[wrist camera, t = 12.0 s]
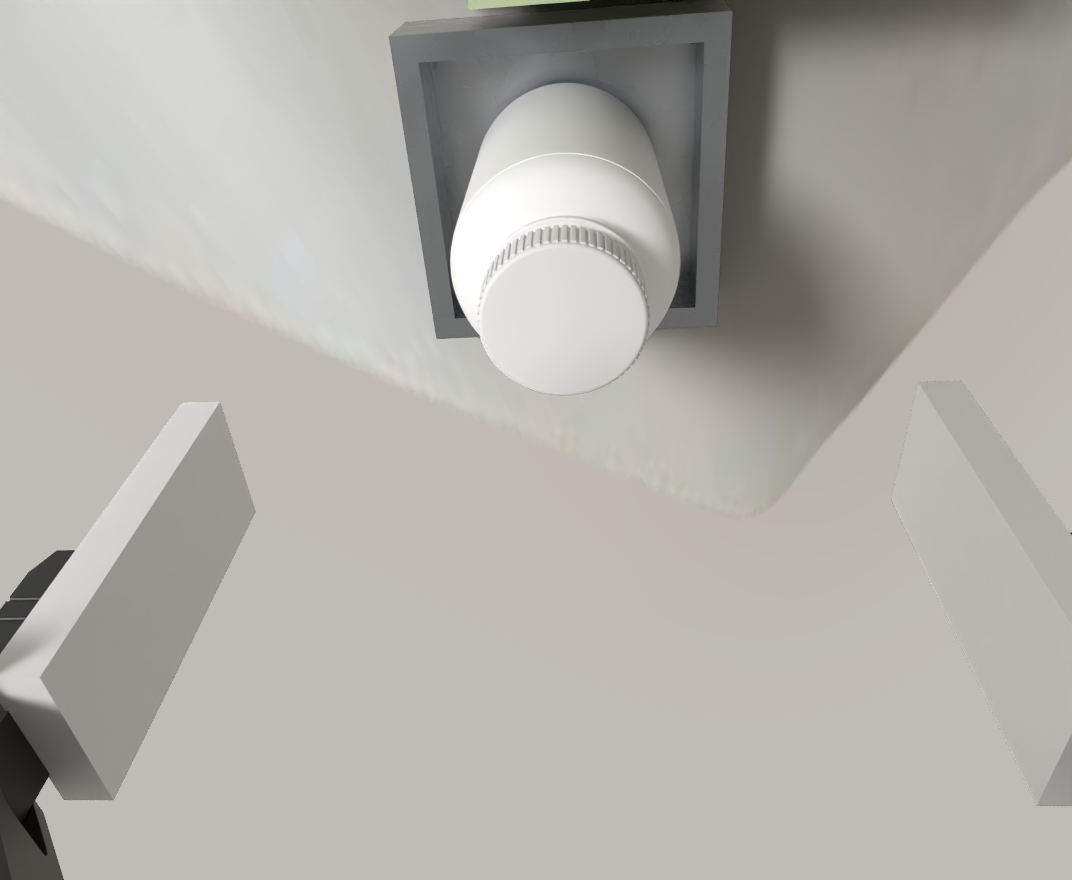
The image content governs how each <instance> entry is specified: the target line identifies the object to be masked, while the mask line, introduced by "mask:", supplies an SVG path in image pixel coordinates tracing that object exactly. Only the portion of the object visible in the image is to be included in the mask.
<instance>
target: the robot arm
mask: <svg viewBox="0 0 1072 880" xmlns="http://www.w3.org/2000/svg"><path fill="white" fill-rule="evenodd" d="M891 501H892V503H893V505H894V507H895V509H896V511H897V513H898V516H899V517H900V520H901V522H902V524H903V526H904V528H905V530H906V532H907V534H908V536H909V539H910V541H911V543H912V545H913V547H914V549H915V551H916V553H917V555H918V557H919V560H920V562H921V564H922V566H923V568H924V570H925V572H926V574H927V577H928V579H929V580H930V583H931V585H932V587H933V589H934V591H935V593H936V595H937V597H938V600H939V602H940V604H941V606H942V608H943V610H944V612H945V614H946V616H947V618H948V621H949V623H950V625H951V627H952V629H953V631H954V633H955V635H956V638H957V640H958V642H959V644H960V646H961V648H962V650H963V652H964V654H965V656H966V659H967V661H968V663H969V665H970V667H971V669H972V671H973V673H974V675H975V677H976V680H977V682H978V684H979V686H980V688H981V690H982V692H983V694H984V696H985V699H986V700H987V703H988V705H989V707H990V709H991V711H992V713H993V715H994V717H995V720H996V722H997V724H998V726H999V728H1000V730H1001V732H1002V734H1003V736H1004V738H1005V740H1006V743H1007V745H1008V747H1009V749H1010V751H1011V753H1012V755H1013V758H1014V759H1015V762H1016V764H1017V766H1018V768H1019V770H1020V772H1021V774H1022V776H1023V779H1024V781H1025V783H1026V785H1027V787H1028V789H1029V791H1030V793H1031V795H1032V797H1033V800H1034V801H1035V803H1036V806H1072V533H1070V532H1069V531H1068V529H1067V528H1066V526H1065V525H1064V524H1063V522H1062V521H1061V520H1060V518H1059V517H1058V515H1057V514H1056V513H1055V511H1054V510H1053V508H1052V507H1051V506H1050V504H1049V503H1048V501H1047V500H1046V498H1045V497H1044V496H1043V494H1042V493H1041V492H1040V490H1039V489H1038V487H1037V486H1036V484H1035V483H1034V482H1033V480H1032V479H1031V477H1030V476H1029V475H1028V473H1027V472H1026V471H1025V469H1024V468H1023V466H1022V465H1021V463H1020V462H1019V461H1018V459H1017V458H1016V457H1015V455H1014V454H1013V452H1012V451H1011V449H1010V448H1009V447H1008V445H1007V444H1006V442H1005V441H1004V440H1003V438H1002V437H1001V436H1000V434H999V433H998V431H997V430H996V429H995V427H994V426H993V424H992V423H991V421H990V420H989V419H988V417H987V416H986V415H985V413H984V412H983V410H982V409H981V407H980V406H979V405H978V403H977V402H976V401H975V399H974V398H973V396H972V395H971V394H970V392H969V391H968V389H967V388H966V387H965V385H964V384H963V382H962V381H933V382H918V384H917V388H916V393H915V397H914V401H913V406H912V410H911V415H910V419H909V423H908V427H907V432H906V436H905V441H904V445H903V449H902V453H901V458H900V462H899V467H898V471H897V476H896V480H895V484H894V488H893V492H892V497H891ZM254 514H255V508H254V505H253V502H252V499H251V495H250V492H249V490H248V486H247V483H246V480H245V477H244V474H243V471H242V468H241V465H240V462H239V459H238V455H237V452H236V449H235V446H234V443H233V440H232V437H231V434H230V431H229V428H228V425H227V422H226V419H225V416H224V412H223V409H222V406H221V403H220V402H197V403H181V405H180V406H179V407H178V409H177V410H176V412H175V413H174V414H173V416H172V417H171V419H170V420H169V421H168V423H167V424H166V426H165V427H164V428H163V430H162V431H161V432H160V434H159V435H158V437H157V438H156V439H155V441H154V442H153V444H152V445H151V446H150V448H149V449H148V451H147V452H146V453H145V455H144V456H143V458H142V459H141V460H140V461H139V463H138V464H137V466H136V467H135V468H134V470H133V471H132V473H131V474H130V475H129V477H128V478H127V479H126V481H125V482H124V484H123V485H122V487H121V488H120V489H119V491H118V492H117V493H116V495H115V496H114V497H113V499H112V500H111V502H110V503H109V504H108V506H107V507H106V509H105V510H104V511H103V513H102V514H101V515H100V517H99V518H98V520H97V521H96V522H95V524H94V525H93V527H92V528H91V529H90V531H89V532H88V533H87V535H86V536H85V538H84V539H83V540H82V542H81V543H80V544H79V546H78V547H77V549H76V550H67V551H56V552H54V553H53V554H52V555H51V556H49V557H48V558H47V559H45V560H44V561H43V562H42V563H40V564H39V565H38V566H36V567H35V568H34V569H32V570H31V571H30V572H29V573H28V574H27V575H26V577H25V578H24V579H23V580H22V582H21V583H20V584H19V586H18V587H17V588H16V590H15V591H14V592H13V593H12V595H11V596H10V601H9V602H6V603H5V604H4V605H3V607H2V608H1V609H0V880H64V879H63V876H62V872H61V869H60V866H59V863H58V859H57V856H56V853H55V849H54V846H53V843H52V840H51V836H50V833H49V830H48V826H47V823H46V820H45V817H44V814H43V812H42V810H41V809H40V807H39V806H38V805H37V803H36V802H35V799H36V798H37V796H38V794H39V792H40V790H41V789H42V787H43V785H44V784H45V782H46V780H47V779H48V777H49V778H50V779H51V781H52V782H53V784H54V785H55V787H56V788H57V790H58V792H59V793H60V795H61V796H62V798H63V799H64V800H114V798H115V796H116V794H117V792H118V790H119V788H120V786H121V784H122V782H123V780H124V778H125V776H126V774H127V772H128V770H129V768H130V766H131V764H132V762H133V760H134V758H135V756H136V753H137V752H138V749H139V748H140V746H141V744H142V741H143V740H144V737H145V735H146V733H147V731H148V729H149V727H150V725H151V723H152V721H153V719H154V717H155V715H156V713H157V711H158V709H159V707H160V705H161V703H162V701H163V699H164V696H165V695H166V693H167V691H168V689H169V687H170V685H171V683H172V681H173V679H174V677H175V674H176V672H177V670H178V668H179V666H180V664H181V662H182V660H183V658H184V656H185V654H186V652H187V650H188V648H189V646H190V644H191V642H192V640H193V638H194V636H195V634H196V632H197V630H198V628H199V626H200V624H201V622H202V620H203V617H204V616H205V614H206V612H207V610H208V607H209V605H210V603H211V601H212V599H213V597H214V595H215V593H216V591H217V589H218V587H219V585H220V583H221V581H222V579H223V577H224V575H225V573H226V571H227V569H228V567H229V565H230V563H231V561H232V559H233V557H234V555H235V553H236V551H237V549H238V547H239V545H240V543H241V540H242V538H243V536H244V534H245V532H246V530H247V528H248V526H249V524H250V522H251V520H252V518H253V516H254Z"/></svg>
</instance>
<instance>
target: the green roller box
mask: <svg viewBox="0 0 1072 880" xmlns="http://www.w3.org/2000/svg"><path fill="white" fill-rule="evenodd" d="M575 1H588V0H468V9H469V10H472V9H485V8H498V7H511V6H524V5H537V4H549V3H562V2H575Z"/></svg>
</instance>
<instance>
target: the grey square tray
mask: <svg viewBox="0 0 1072 880" xmlns="http://www.w3.org/2000/svg"><path fill="white" fill-rule="evenodd" d="M732 16H733V10H732V9H731V8H730V7H729V6H728V5H727V4H726V3H725V2H724V1H723V0H692V1H679V2H666V3H653V4H639V5H626V6H613V7H600V8H587V9H574V10H561V11H548V12H535V13H522V14H509V15H495V16H482V17H469V18H456V19H443V20H430V21H417V22H405V23H404V24H403V25H402V26H400V27H399V28H398V29H397V30H396V31H395V32H393V33H392V34H391V35H390V36H389V40H390V46H391V53H392V59H393V66H394V72H395V78H396V85H397V91H398V97H399V104H400V110H401V116H402V123H403V129H404V135H405V142H406V148H407V154H408V161H409V167H410V173H411V180H412V186H413V193H414V199H415V205H416V212H417V218H418V224H419V231H420V237H421V243H422V250H423V256H424V262H425V269H426V275H427V281H428V288H429V294H430V300H431V307H432V313H433V320H434V326H435V332H436V339H445V338H467V337H480V335H479V334H478V333H477V332H476V330H475V329H474V328H473V327H472V325H471V324H470V322H469V321H468V319H467V317H466V316H465V314H464V312H463V310H462V308H461V306H460V304H459V301H458V299H457V296H456V293H455V290H454V286H453V282H452V276H451V266H450V257H451V246H452V240H453V235H454V231H455V227H456V224H457V221H458V218H459V214H460V211H461V208H462V205H463V202H464V198H465V195H466V192H467V189H468V186H469V183H470V179H471V176H472V173H473V170H474V167H475V163H476V160H477V157H478V154H479V151H480V148H481V145H482V142H483V140H484V137H485V135H486V133H487V132H488V130H489V128H490V126H491V125H492V123H493V122H494V121H495V119H496V118H497V117H498V116H499V115H500V113H501V112H502V111H503V110H504V109H505V108H506V107H507V106H508V105H509V104H511V103H512V102H513V101H514V100H516V99H517V98H519V97H520V96H522V95H524V94H525V93H527V92H529V91H531V90H534V89H536V88H539V87H542V86H546V85H550V84H556V83H578V84H585V85H589V86H593V87H596V88H598V89H601V90H603V91H605V92H607V93H609V94H611V95H613V96H614V97H616V98H617V99H619V100H620V101H621V102H623V103H624V104H625V105H626V106H627V107H628V108H629V109H630V110H631V111H632V112H633V113H634V114H635V116H636V117H637V118H638V119H639V121H640V122H641V124H642V125H643V127H644V128H645V130H646V132H647V134H648V136H649V138H650V141H651V143H652V146H653V149H654V153H655V156H656V160H657V163H658V167H659V170H660V174H661V177H662V181H663V184H664V188H665V191H666V195H667V198H668V202H669V205H670V209H671V212H672V215H673V219H674V222H675V226H676V230H677V234H678V239H679V245H680V274H679V280H678V285H677V289H676V292H675V295H674V298H673V300H672V302H671V305H670V307H669V309H668V311H667V312H666V314H665V316H664V318H663V319H662V321H661V322H660V324H659V325H658V327H657V328H656V329H668V328H691V327H713V326H717V314H718V295H719V275H720V255H721V235H722V215H723V195H724V175H725V155H726V136H727V116H728V96H729V76H730V56H731V36H732Z"/></svg>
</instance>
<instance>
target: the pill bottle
mask: <svg viewBox="0 0 1072 880" xmlns="http://www.w3.org/2000/svg"><path fill="white" fill-rule="evenodd" d="M450 266H451V276H452V282H453V286H454V290H455V293H456V296H457V299H458V301H459V304H460V306H461V308H462V310H463V312H464V314H465V316H466V317H467V319H468V321H469V322H470V324H471V325H472V327H473V328H474V329H475V330H476V332H477V333H478V334H479V335H480V339H481V342H483V347H484V349H486V353H487V355H488V356H490V359H491V361H492V362H493V363H495V366H496V367H497V368H498V369H500V370H501V372H502V373H503V374H505V375H506V376H507V377H508V378H510V379H512V380H513V381H514V382H516V383H518V384H520V385H521V386H523V387H526V388H528V389H531V390H533V391H537V392H540V393H544V394H550V395H577V394H583V393H587V392H590V391H594V390H596V389H599V388H601V387H604V386H605V385H608V384H609V383H611V382H612V381H614V380H616V379H617V378H618V377H619V376H621V375H622V374H624V372H625V371H627V370H628V369H629V368H630V366H631V365H633V363H634V362H635V359H637V358H638V356H639V353H640V352H641V351H642V349H643V345H645V342H646V339H647V338H648V337H649V336H650V335H651V334H652V333H653V332H654V330H655V329H656V328H657V327H658V325H659V324H660V322H661V321H662V319H663V318H664V316H665V314H666V312H667V311H668V309H669V307H670V305H671V302H672V300H673V298H674V295H675V292H676V289H677V285H678V280H679V274H680V245H679V239H678V234H677V230H676V226H675V222H674V219H673V215H672V212H671V209H670V205H669V202H668V198H667V195H666V191H665V188H664V184H663V181H662V177H661V174H660V170H659V167H658V163H657V160H656V156H655V153H654V149H653V146H652V143H651V141H650V138H649V136H648V134H647V132H646V130H645V128H644V127H643V125H642V124H641V122H640V121H639V119H638V118H637V117H636V116H635V114H634V113H633V112H632V111H631V110H630V109H629V108H628V107H627V106H626V105H625V104H624V103H623V102H621V101H620V100H619V99H617V98H616V97H614V96H613V95H611V94H609V93H607V92H605V91H603V90H601V89H598V88H596V87H593V86H589V85H585V84H578V83H556V84H550V85H546V86H542V87H539V88H536V89H534V90H531V91H529V92H527V93H525V94H524V95H522V96H520V97H519V98H517V99H516V100H514V101H513V102H512V103H511V104H509V105H508V106H507V107H506V108H505V109H504V110H503V111H502V112H501V113H500V115H499V116H498V117H497V118H496V119H495V121H494V122H493V123H492V125H491V126H490V128H489V130H488V132H487V133H486V135H485V137H484V140H483V142H482V145H481V148H480V151H479V154H478V157H477V160H476V163H475V167H474V170H473V173H472V176H471V179H470V183H469V186H468V189H467V192H466V195H465V198H464V202H463V205H462V208H461V211H460V214H459V218H458V221H457V224H456V227H455V231H454V235H453V240H452V246H451V257H450Z"/></svg>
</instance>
